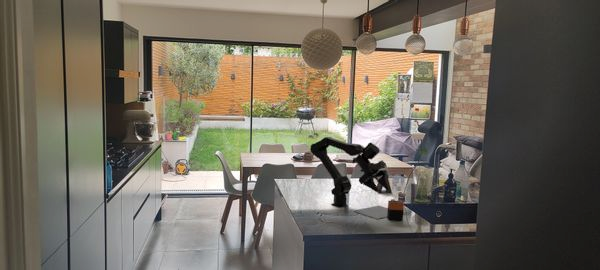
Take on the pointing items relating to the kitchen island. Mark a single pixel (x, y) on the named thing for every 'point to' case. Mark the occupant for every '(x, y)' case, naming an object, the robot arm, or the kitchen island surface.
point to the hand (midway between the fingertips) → (383, 190)
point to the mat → (374, 212)
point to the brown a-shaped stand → (382, 187)
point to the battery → (395, 210)
